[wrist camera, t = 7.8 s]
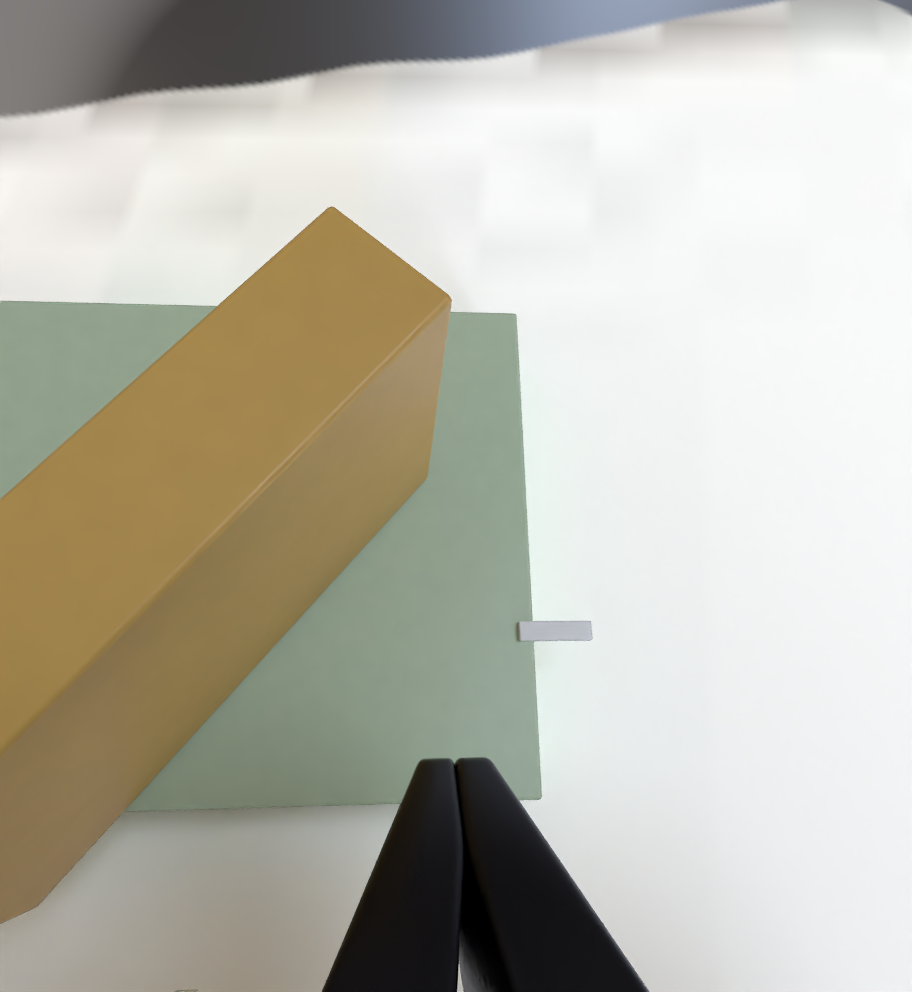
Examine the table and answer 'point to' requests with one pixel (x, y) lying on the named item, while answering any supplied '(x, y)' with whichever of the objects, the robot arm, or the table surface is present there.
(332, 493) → the brass bar
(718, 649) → the table surface
